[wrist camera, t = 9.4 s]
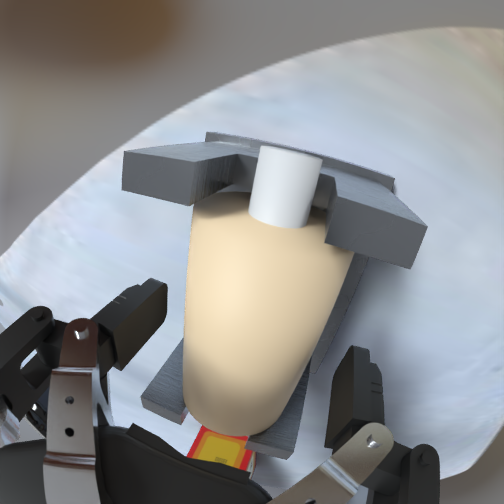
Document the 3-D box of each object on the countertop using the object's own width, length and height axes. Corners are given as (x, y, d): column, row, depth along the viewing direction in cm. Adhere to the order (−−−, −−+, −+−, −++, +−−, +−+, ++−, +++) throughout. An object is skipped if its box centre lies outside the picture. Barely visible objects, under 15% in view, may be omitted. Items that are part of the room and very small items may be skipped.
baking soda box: (202, 424, 27) (145, 532, 13) (256, 438, 26) (210, 557, 12) (211, 454, 31) (169, 540, 17) (255, 465, 30) (220, 557, 15)
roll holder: (390, 175, 13) (457, 221, 5) (316, 364, 19) (298, 464, 11) (213, 132, 15) (106, 136, 7) (191, 324, 21) (132, 404, 13)
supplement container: (40, 362, 39) (5, 396, 28) (64, 373, 36) (24, 415, 25) (67, 399, 43) (37, 433, 32) (94, 412, 39) (62, 453, 28)
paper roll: (222, 134, 11) (175, 141, 6) (352, 163, 11) (408, 194, 6) (194, 368, 17) (172, 438, 12) (276, 384, 17) (272, 457, 12)
